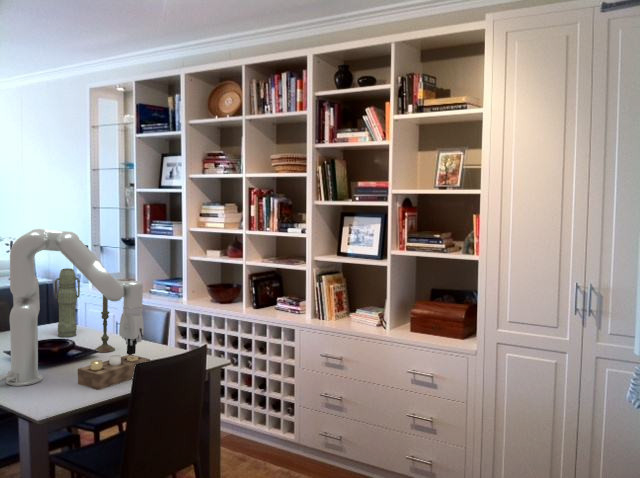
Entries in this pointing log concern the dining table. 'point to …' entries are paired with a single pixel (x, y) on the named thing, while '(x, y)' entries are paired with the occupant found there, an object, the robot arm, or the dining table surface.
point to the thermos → (67, 302)
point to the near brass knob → (96, 365)
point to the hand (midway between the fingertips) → (131, 353)
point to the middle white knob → (115, 360)
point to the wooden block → (108, 373)
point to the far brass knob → (132, 358)
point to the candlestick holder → (105, 329)
